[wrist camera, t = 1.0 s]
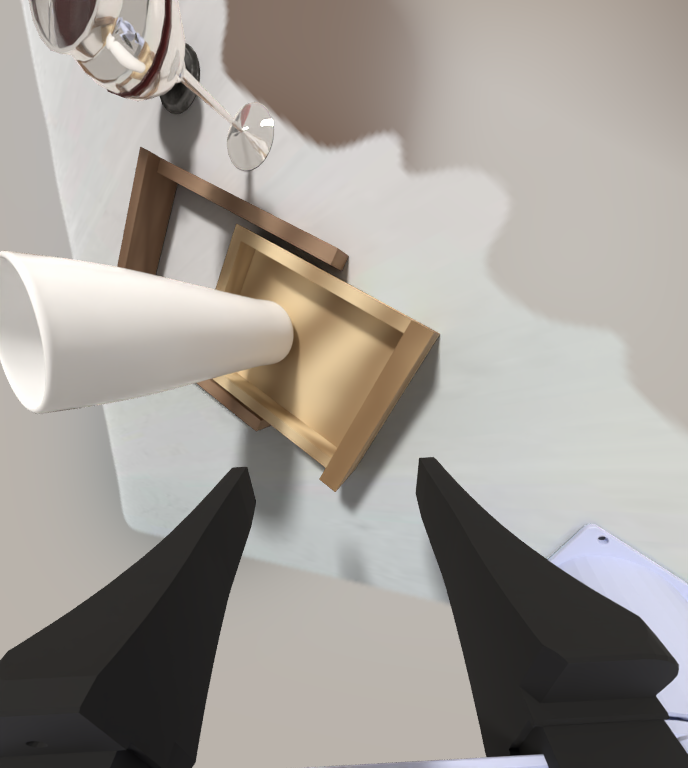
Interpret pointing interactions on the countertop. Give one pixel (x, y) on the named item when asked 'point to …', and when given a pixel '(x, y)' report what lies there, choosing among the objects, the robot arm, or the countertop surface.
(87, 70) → the wineglass
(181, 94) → the salt shaker
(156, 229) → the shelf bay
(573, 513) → the countertop surface
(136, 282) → the drinking glass
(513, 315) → the countertop surface
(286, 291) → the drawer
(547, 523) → the countertop surface
